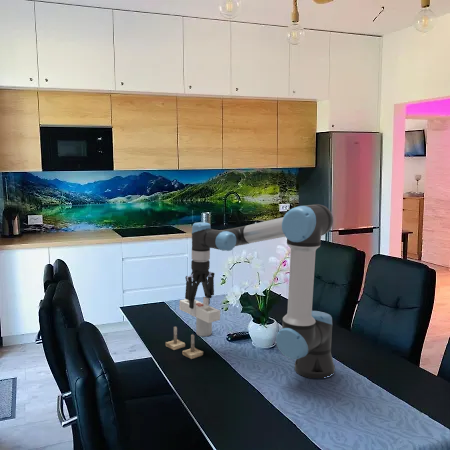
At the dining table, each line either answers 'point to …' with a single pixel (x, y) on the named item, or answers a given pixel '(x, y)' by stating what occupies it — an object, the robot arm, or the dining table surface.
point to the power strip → (201, 311)
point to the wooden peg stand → (178, 344)
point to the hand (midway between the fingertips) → (199, 313)
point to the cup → (203, 327)
